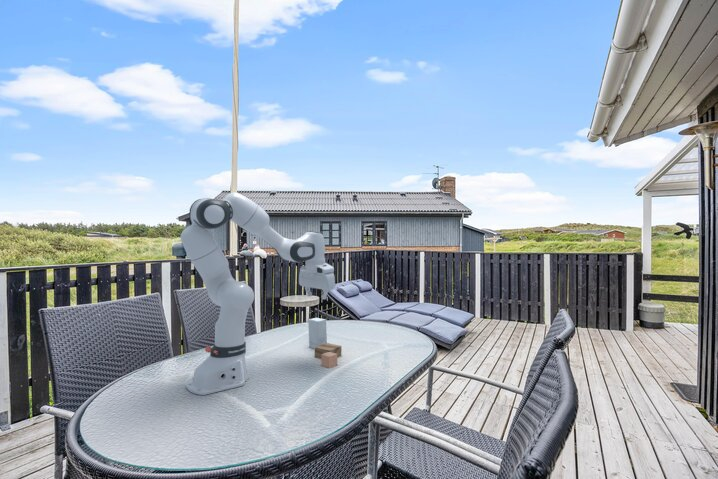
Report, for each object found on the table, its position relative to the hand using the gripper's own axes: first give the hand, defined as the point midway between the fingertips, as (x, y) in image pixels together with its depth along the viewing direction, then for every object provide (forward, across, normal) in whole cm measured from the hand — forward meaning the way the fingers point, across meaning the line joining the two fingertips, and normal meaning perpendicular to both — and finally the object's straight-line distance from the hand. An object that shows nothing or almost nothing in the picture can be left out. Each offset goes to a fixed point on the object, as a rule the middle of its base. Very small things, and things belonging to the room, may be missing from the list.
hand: (316, 297), depth 163 cm
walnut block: (+30, -1, +7) cm, 31 cm away
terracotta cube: (+29, +8, -1) cm, 30 cm away
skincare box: (+31, -15, +13) cm, 37 cm away
